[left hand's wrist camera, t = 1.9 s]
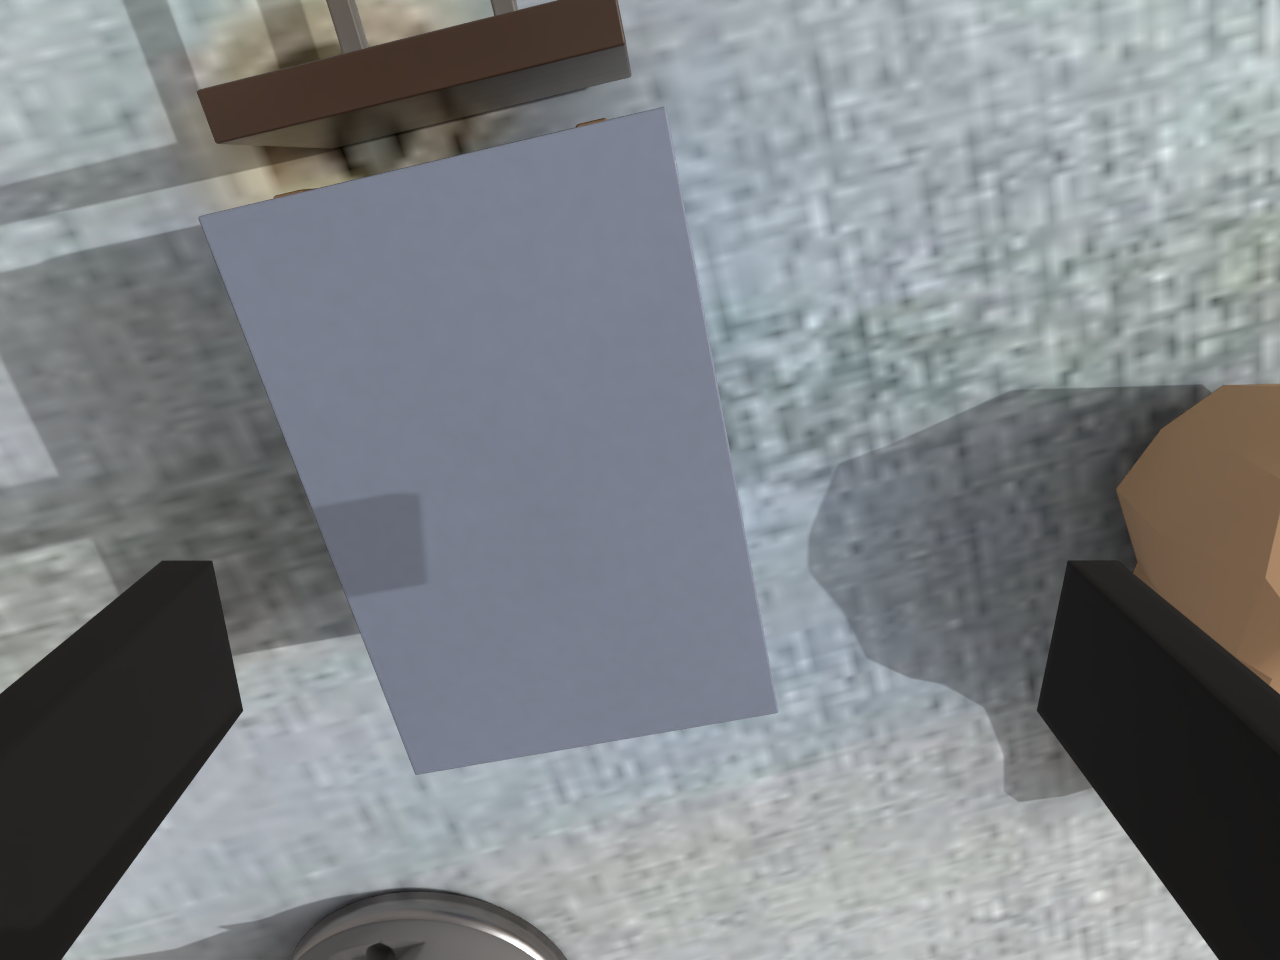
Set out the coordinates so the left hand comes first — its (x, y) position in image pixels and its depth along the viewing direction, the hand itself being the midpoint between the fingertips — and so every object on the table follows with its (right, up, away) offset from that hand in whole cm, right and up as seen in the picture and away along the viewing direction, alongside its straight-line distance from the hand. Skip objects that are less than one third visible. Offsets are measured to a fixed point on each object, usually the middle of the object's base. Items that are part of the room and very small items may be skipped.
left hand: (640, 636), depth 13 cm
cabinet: (-3, +6, +18) cm, 19 cm away
